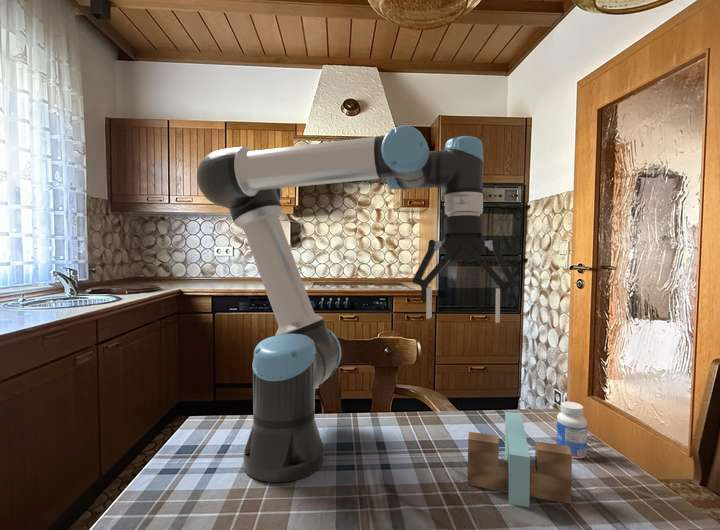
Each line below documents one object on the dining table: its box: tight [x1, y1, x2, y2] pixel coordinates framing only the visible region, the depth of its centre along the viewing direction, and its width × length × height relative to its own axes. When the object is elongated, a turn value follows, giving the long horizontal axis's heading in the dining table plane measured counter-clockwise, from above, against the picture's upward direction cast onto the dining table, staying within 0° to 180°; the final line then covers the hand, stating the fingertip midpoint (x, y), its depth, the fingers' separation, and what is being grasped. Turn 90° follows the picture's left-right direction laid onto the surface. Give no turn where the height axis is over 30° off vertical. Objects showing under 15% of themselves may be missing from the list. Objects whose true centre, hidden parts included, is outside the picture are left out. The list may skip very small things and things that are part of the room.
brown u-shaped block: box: [467, 431, 573, 505], centre depth 66 cm, size 16×3×8 cm, turn 71°
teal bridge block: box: [504, 411, 531, 508], centre depth 70 cm, size 3×18×8 cm, turn 161°
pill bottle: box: [556, 401, 588, 459], centre depth 78 cm, size 6×5×10 cm
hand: (462, 320), depth 79 cm, fingers open, 13 cm apart
